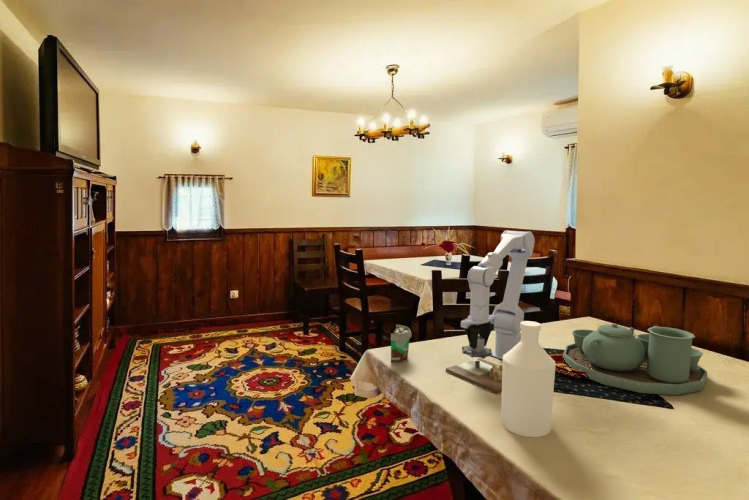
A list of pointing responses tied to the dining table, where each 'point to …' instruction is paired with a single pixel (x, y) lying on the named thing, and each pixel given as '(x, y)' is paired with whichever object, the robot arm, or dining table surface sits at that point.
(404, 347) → the food container
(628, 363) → the tea set
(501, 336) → the robot arm
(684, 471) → the dining table surface
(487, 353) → the planet gear
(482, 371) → the carrier board
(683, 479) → the dining table surface
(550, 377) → the bottle
